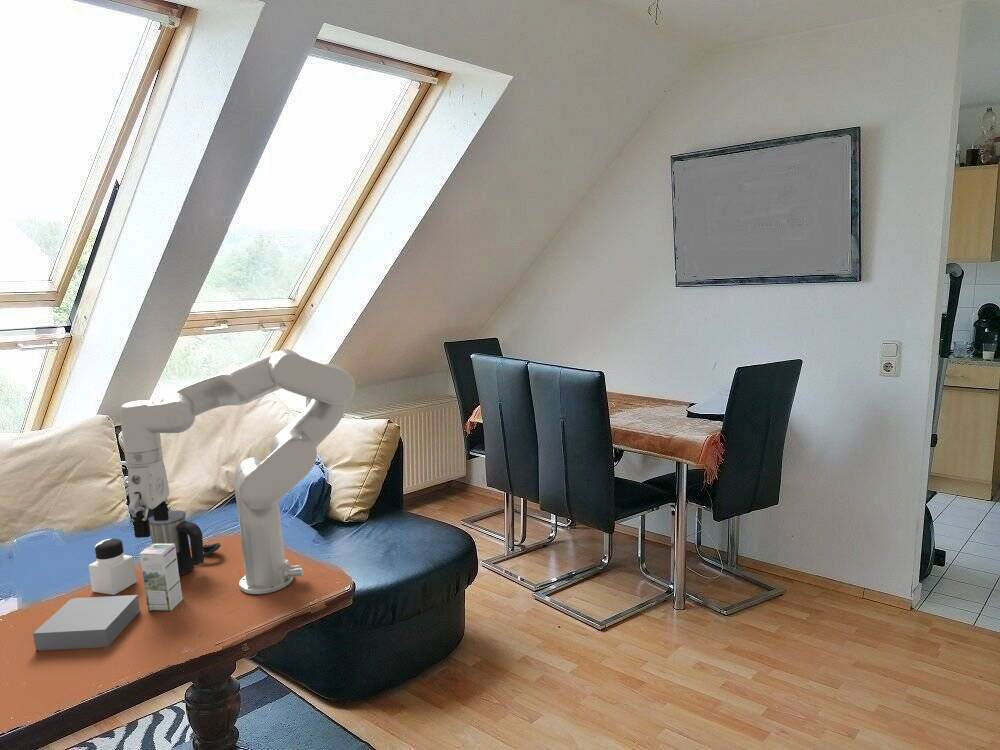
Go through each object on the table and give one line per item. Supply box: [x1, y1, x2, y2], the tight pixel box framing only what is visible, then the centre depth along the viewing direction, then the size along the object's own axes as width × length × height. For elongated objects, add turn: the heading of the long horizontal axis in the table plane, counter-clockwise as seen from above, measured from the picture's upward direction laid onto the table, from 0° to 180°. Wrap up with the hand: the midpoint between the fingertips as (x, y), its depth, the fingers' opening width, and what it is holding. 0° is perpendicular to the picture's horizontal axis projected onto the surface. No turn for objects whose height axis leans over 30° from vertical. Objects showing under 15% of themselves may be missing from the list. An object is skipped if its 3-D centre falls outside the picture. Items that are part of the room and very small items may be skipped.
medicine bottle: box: [88, 538, 137, 596], centre depth 181 cm, size 7×7×12 cm
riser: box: [32, 594, 141, 651], centre depth 162 cm, size 15×15×4 cm
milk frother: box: [148, 510, 222, 577], centre depth 192 cm, size 14×16×15 cm
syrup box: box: [139, 543, 183, 612], centre depth 170 cm, size 6×6×14 cm
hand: (152, 528), depth 168 cm, fingers open, 9 cm apart
